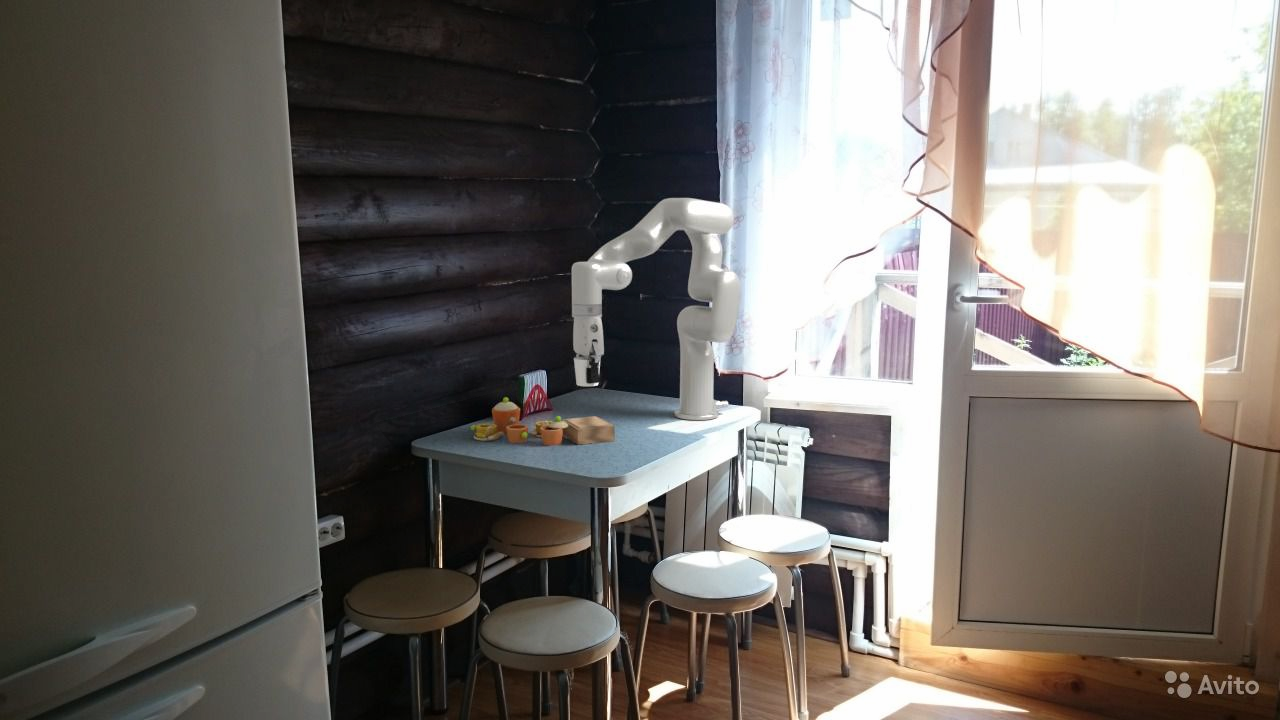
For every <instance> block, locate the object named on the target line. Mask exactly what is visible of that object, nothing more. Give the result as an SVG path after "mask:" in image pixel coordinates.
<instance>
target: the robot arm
mask: <svg viewBox="0 0 1280 720" xmlns="http://www.w3.org/2000/svg"><path fill="white" fill-rule="evenodd" d="M734 218H735V216H734V213H733V211H732V209H731V207H729V206H728V205H727V204H726V203H722V202H715V201H710V200H703V199H699V198H691V197H669V198H664V199H662V200H661V201H659V202H658V203H657V204H656V205H655V206H654V207H653V208H652V209H651V210H650V211H649V212H648V213H647V214H646V215H645V216H644V217H643V218H642V219H641V220H640V221H639V222H638V223H637V224H635V226H634V227H632V228H631V229H630V230H628V231H625V232H624V233H622V234H621V235H619V236H617V237H615V238H614V239H612V240H610V241H608V242H607V243H605V244H604V245H603V246H601V247H600V248H598V250H597V251H595V252H594V254H593V255H592V256H591V257H590V258H588V260H587V261H577V262H574V263H573V264H572V266H571V317H572V318H573V331H572V335H573V336H572V337H573V338H572V342H573V343H572V345H573V351H574V352H575V353H574V354H575V357H579V356H586V359H587V365H588V368H586V382H587V383H588V384H591V383H598V384H599V383H600V369H599V362H600V363H601V358H602V356H604V354H605V353H604V352H605V347H604V346H605V345H604V343H605V342H604V329H603V323H602V317H603V313H602V312H603V311H602V309H603V306H602V301H603V300H602V297H603V294H602V293H603V292H602V290H609V291H610V290H611V291H619V290H623V289H625V288H627V286H629V285H630V284H631V282H632V279H633V271H632V268H631V267H630V266H629V264H627V263H628V262H630V261H631V262H632V261H634V260H639V259H642V258H645V257H647V256H649V255H650V256H651V255H653V254H654V253H655V252H656V251H658V250H659V249H660V247H662V245H663V244H664V243H666V242H667V240H668V239H669V238H670V237H671V236H673V234H675V232H677V231H684V232H685V234H686V235H687V236H688V239H689V240H690V243H691V247H692V256H691V264H690V269H689V277H688V283H687V284H688V285H687V293H688V295H689V296H690V298H691V299H693V300H696V301H699V302H704V303H711V307H710V306H702V305H690V306H686V307H684V308H683V309H682V310H681V311H680V312H679V314H678V316H677V320H676V325H677V326H676V327H677V333H678V339H679V340H678V341H679V346H680V347H679V350H680V353H679V355H680V363H679V365H680V366H679V371H680V373H679V374H680V375H679V380H680V381H679V408H678V409H675V411H674V416H675V417H676V418H678V419H682V420H686V421H687V420H688V421H690V420H691V421H707V420H708V421H709V420H713V419H716V418H718V417H719V411H718V410H719V409H720V408H721V409H723V408H725V409H726V408H728V407H729V402H728V400H721V401H720V400H716V399H714V378H715V377H714V376H715V375H714V372H715V371H714V369H715V368H714V367H715V366H714V364H715V355H714V354H715V353H714V349H713V346H712V343H715V344H717V343H718V344H720V343H722V344H723V343H726V342H727V341H729V340H730V339H731V338H732V336H733V335H734V333H735V329H736V325H737V321H738V314H739V306H740V301H741V300H740V299H741V293H742V285H741V280H740V278H739V276H738V275H737V273H736V272H735V271H733V270H730V269H728V268H722V265H723V246H722V243H721V240H720V238H719V235H720V236H721V235H725V234H726V233H728V232H730V230H731V229H732V227H733V225H734V220H735V219H734ZM590 358H592V360H591V361H590Z"/></svg>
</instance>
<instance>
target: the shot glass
mask: <svg viewBox="0 0 1280 720" xmlns="http://www.w3.org/2000/svg"><path fill="white" fill-rule="evenodd" d="M591 360H592V358H590V361H591ZM573 362H574V373H575V380H576V381H575V382H576V385H577V386H579V387H595V386H598V385H599V382H598V383H591V384H588V383H587V382H586V368H588V365H587V359H586V356H579V357H576V356H575V357H573ZM600 367H601V361H600V362H599V370H600Z"/></svg>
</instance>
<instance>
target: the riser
mask: <svg viewBox="0 0 1280 720" xmlns="http://www.w3.org/2000/svg"><path fill="white" fill-rule="evenodd" d="M561 421H564V422H565V423H567V424H568V427H567V428H563V435H564V436H565V437H564V436H563V435H562V436H563V437H564V438H566V437H567V438H568V440H569V439H570V440H569V441H571V440H572V441H573V442H572V441H571V442H572V443H574V444H575V443H576V444H575V445H577V444H578V445H577V446H581V445H580V444H583V445H590V444H589V443H592V444H601V443H608V442H609V441H610V442H615V439H616V438H615V431H616V430H615V429H616V428H615V426H616V425H614V424H612V423H610V422H608V421H606V420H604V419H603V418H600V417H599V416H595V415H594V416H586V417H584V416H583V417H574V418H565V419H561ZM567 438H566V439H567ZM610 442H609V443H610Z"/></svg>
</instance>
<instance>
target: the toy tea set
mask: <svg viewBox="0 0 1280 720" xmlns="http://www.w3.org/2000/svg"><path fill="white" fill-rule="evenodd" d="M491 414H492V419H493V423H479V424H477V425H476V424H473V425H471V426H470V430H471V431H473V432H475V431H476V432H475V434H474V435H473V438H474V440H477V441H480V442H490V441H495V440H498V439H499V438H500V437H502V436H504V435H507V441H508V442H509V443H512V444H521V443H522V442H523V443H525V441H526V442H527V441H528V439H527V438H528V432H529V425H527V424H523V423H522V424H520V423H519V422H520V416H521V408H520V407H519V406H518V405H517V404H515V403H514V402H512V401H509V398H508V397H506V396H505V397H503V399H502V401H500V402H499V403H497V404H496V405H495V406H494V407H492V409H491ZM561 420H562V417H561V416H559V415H556V416H555V418H554V421H551V420H542V421H537V422H535V424H534V425H535V426H534V427H533V428H532V430H531V431H530V435H532V436H533V437H535V438H538V439H541V440H542V444H544V446H546V445H557V446H559V445H558V444H560V445H561V444H562V441H563V428H567V427H568V424H567V423H565V422H564V421H561Z"/></svg>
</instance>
